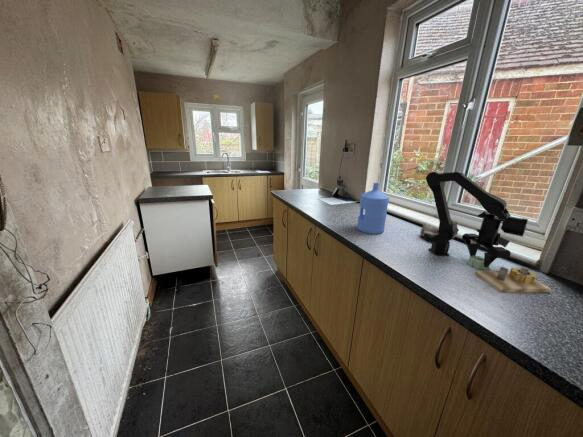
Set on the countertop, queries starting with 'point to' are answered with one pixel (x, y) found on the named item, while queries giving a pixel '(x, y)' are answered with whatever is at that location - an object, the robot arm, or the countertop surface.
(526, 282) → the brass gear
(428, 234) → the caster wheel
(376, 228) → the water jug
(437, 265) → the countertop surface
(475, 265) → the green gear
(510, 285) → the gear board
